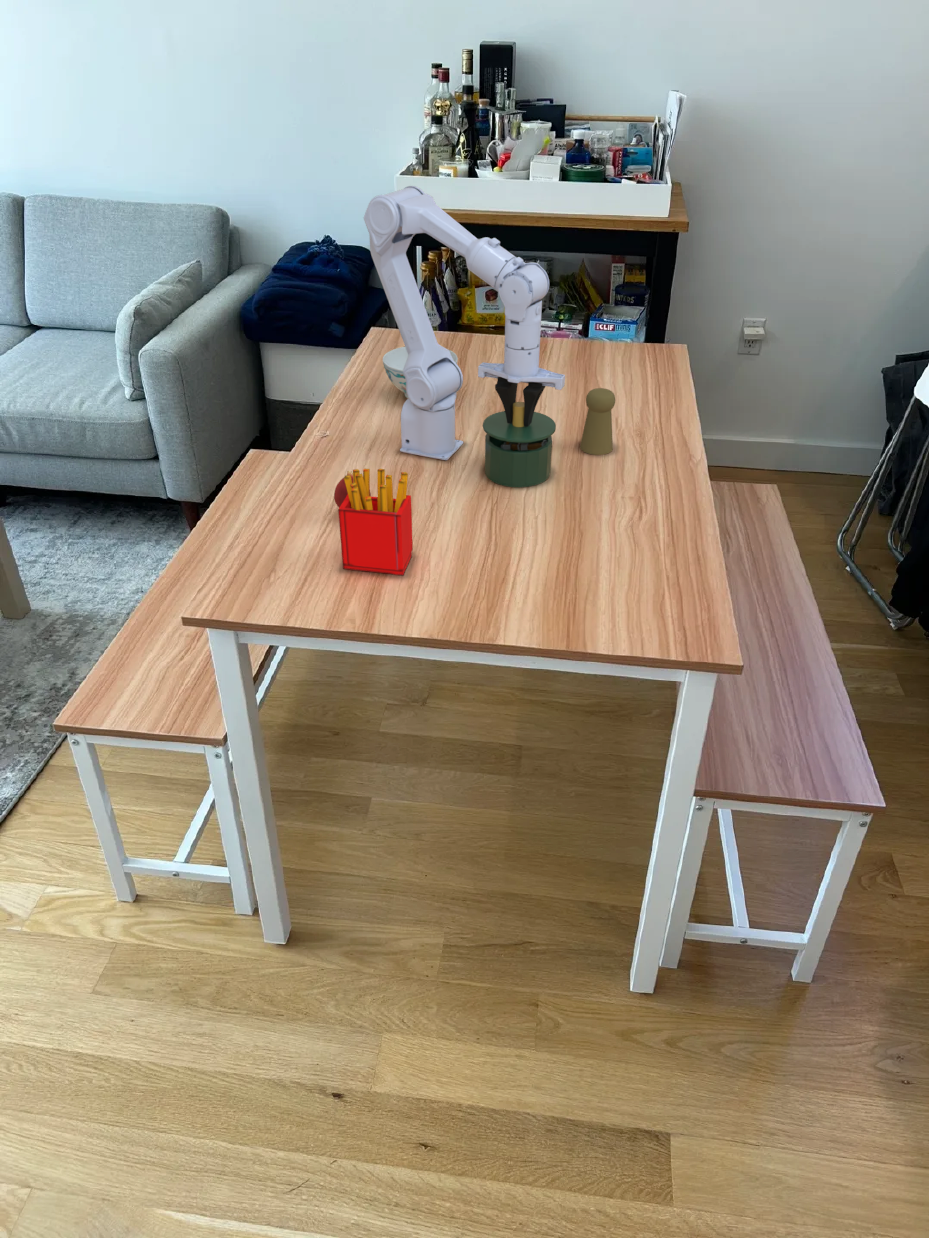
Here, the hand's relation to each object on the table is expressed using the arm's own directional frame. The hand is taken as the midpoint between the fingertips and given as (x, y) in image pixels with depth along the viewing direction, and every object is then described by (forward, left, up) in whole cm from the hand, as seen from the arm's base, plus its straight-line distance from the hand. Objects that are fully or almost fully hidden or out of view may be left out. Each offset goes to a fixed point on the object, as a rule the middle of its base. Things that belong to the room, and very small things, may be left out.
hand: (519, 422), depth 163 cm
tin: (0, 0, -9) cm, 9 cm away
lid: (0, 0, -1) cm, 1 cm away
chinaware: (-30, +25, -8) cm, 40 cm away
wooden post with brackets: (+2, 0, -7) cm, 7 cm away
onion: (-19, -25, -10) cm, 33 cm away
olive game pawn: (+10, +15, -10) cm, 20 cm away
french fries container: (-9, -36, -10) cm, 38 cm away
